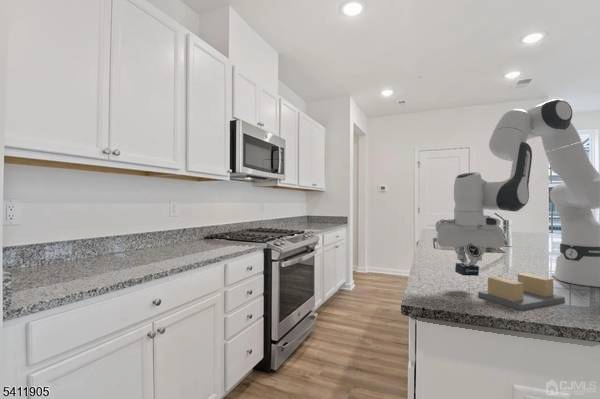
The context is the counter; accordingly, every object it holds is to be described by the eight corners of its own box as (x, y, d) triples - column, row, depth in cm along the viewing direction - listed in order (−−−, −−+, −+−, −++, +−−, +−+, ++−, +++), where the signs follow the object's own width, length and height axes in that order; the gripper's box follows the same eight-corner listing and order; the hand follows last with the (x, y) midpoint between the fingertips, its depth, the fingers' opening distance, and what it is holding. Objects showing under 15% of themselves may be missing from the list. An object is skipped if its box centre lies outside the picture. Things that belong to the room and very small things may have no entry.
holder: (519, 290, 102) (519, 271, 102) (564, 302, 90) (564, 280, 90) (478, 296, 95) (478, 276, 95) (520, 310, 83) (521, 286, 83)
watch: (466, 277, 98) (468, 244, 98) (452, 270, 106) (454, 239, 106) (482, 277, 99) (484, 244, 98) (467, 270, 107) (469, 240, 106)
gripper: (436, 219, 102) (437, 260, 102) (505, 220, 96) (506, 263, 96) (434, 218, 108) (435, 256, 108) (499, 219, 102) (499, 259, 102)
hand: (469, 259), depth 102 cm, fingers closed on watch, 4 cm apart
